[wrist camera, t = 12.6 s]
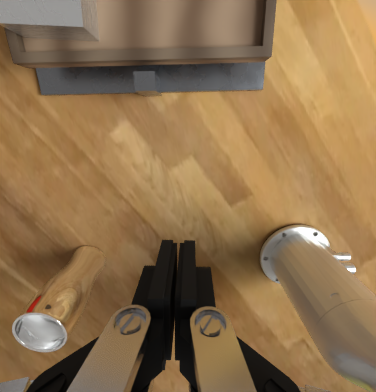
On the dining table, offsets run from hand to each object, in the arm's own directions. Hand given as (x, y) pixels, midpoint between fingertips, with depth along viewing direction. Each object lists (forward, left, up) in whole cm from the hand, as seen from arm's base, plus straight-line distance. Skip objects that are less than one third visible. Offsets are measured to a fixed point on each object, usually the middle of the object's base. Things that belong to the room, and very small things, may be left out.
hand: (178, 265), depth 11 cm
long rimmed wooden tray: (+4, -18, -21) cm, 27 cm away
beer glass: (+18, +17, -26) cm, 36 cm away
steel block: (+12, -18, -19) cm, 29 cm away
